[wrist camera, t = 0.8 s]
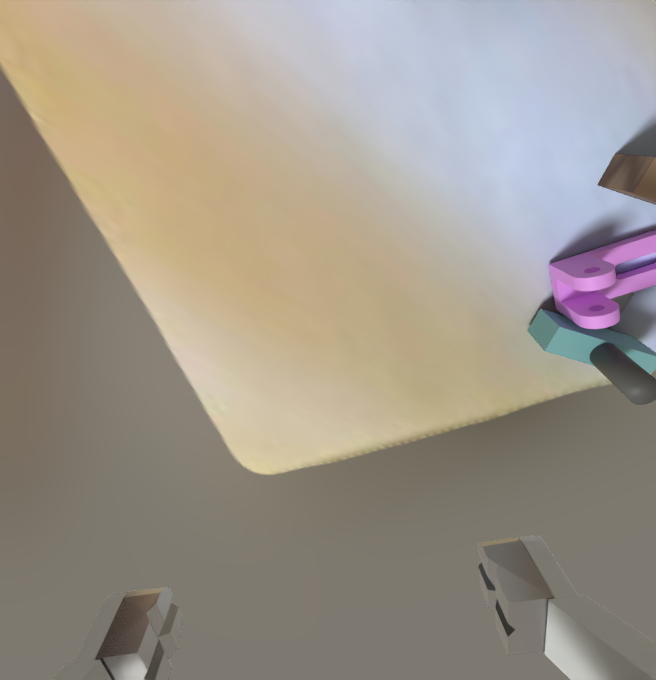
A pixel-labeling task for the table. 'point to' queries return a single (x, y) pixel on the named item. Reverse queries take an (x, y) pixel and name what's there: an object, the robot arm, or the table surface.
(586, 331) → the clamp jaw
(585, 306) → the bracket
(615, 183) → the base
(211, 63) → the table surface
